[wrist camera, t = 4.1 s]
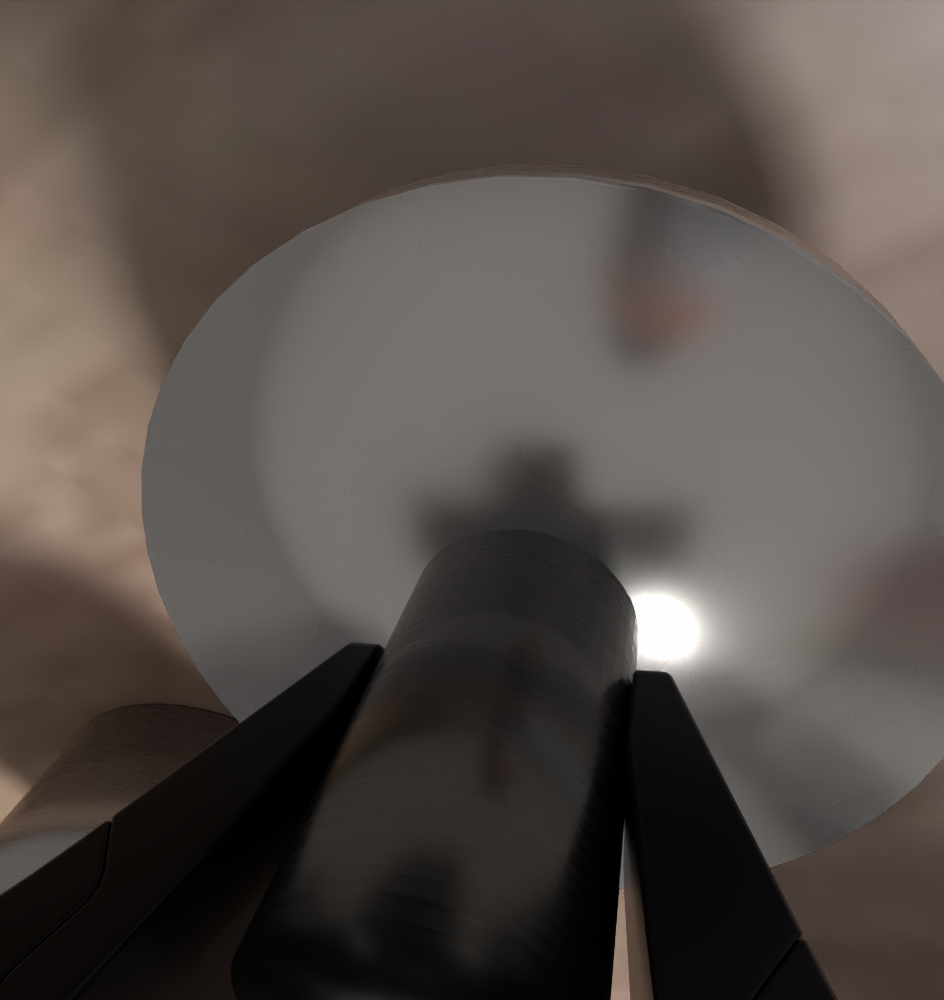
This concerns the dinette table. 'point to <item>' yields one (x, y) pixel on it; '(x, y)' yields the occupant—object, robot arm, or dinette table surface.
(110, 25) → the dinette table surface
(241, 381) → the cooker lid
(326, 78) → the dinette table surface
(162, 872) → the robot arm
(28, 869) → the cooker pot
